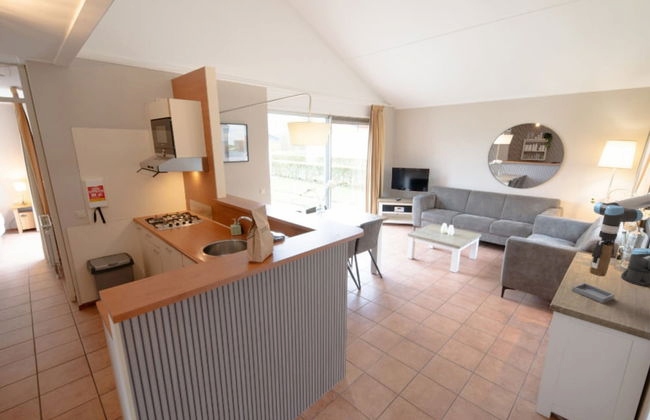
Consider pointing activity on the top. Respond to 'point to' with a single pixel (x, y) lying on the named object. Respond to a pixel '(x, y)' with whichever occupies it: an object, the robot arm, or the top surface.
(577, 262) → the top surface
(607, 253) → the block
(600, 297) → the tray
